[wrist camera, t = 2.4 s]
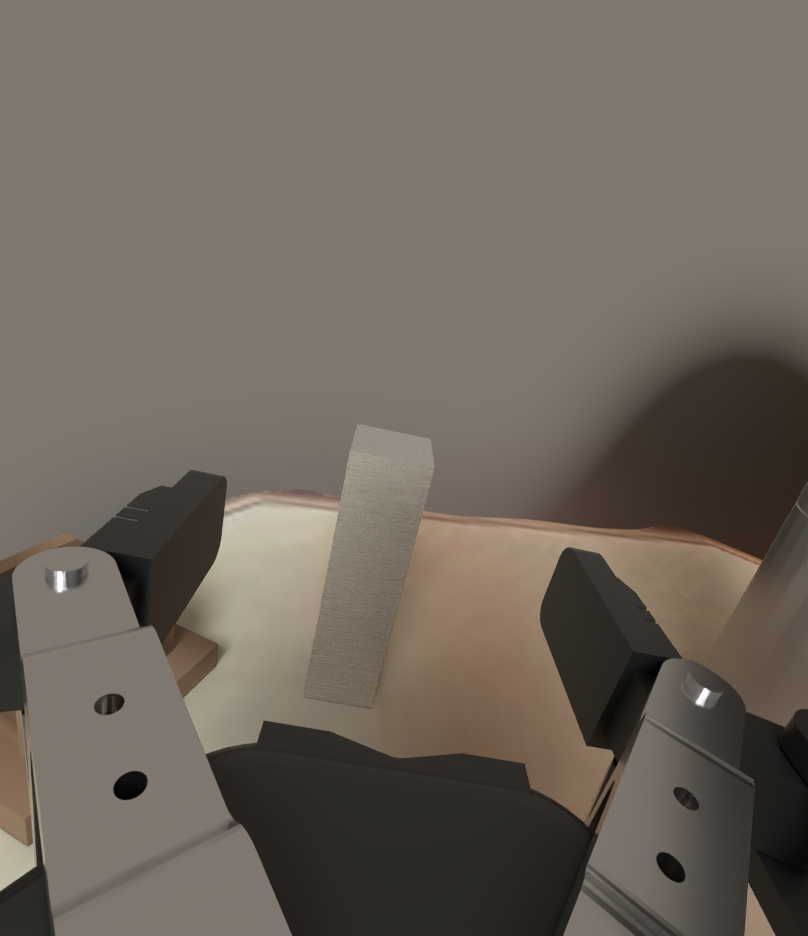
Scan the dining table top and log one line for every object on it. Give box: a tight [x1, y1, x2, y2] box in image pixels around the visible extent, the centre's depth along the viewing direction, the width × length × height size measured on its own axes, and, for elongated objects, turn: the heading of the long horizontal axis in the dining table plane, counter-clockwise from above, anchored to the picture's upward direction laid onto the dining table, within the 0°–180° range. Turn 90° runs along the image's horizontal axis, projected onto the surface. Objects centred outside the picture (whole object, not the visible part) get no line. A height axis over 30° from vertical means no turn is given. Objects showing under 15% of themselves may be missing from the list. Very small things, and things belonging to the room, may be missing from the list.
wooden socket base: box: [0, 533, 218, 846], centre depth 23 cm, size 10×10×6 cm
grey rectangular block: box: [303, 424, 434, 708], centre depth 26 cm, size 4×4×14 cm
